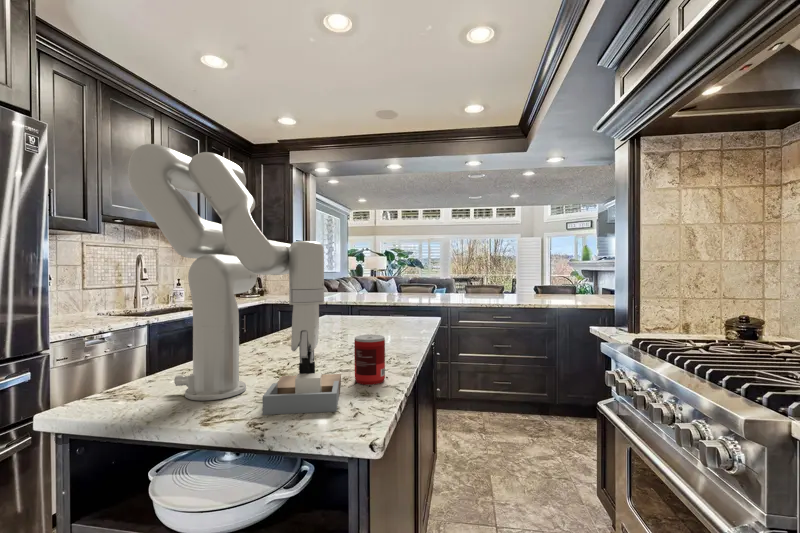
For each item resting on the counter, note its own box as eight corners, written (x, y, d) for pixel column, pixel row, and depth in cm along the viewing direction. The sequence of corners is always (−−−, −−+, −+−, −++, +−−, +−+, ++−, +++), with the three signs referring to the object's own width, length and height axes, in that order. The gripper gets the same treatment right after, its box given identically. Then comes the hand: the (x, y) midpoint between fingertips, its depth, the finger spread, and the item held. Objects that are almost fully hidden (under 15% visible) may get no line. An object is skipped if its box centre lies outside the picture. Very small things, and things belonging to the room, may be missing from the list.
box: (262, 414, 74) (262, 396, 74) (272, 399, 83) (272, 383, 83) (336, 411, 76) (336, 393, 76) (338, 397, 84) (338, 380, 85)
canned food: (379, 375, 103) (378, 333, 103) (389, 383, 95) (389, 338, 95) (351, 378, 100) (350, 335, 100) (359, 386, 92) (359, 340, 92)
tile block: (298, 397, 83) (295, 403, 79) (298, 373, 83) (295, 378, 79) (321, 396, 83) (320, 402, 79) (321, 373, 84) (320, 377, 80)
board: (272, 399, 83) (272, 388, 83) (281, 386, 93) (281, 376, 93) (338, 397, 84) (338, 385, 85) (340, 384, 94) (340, 373, 94)
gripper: (294, 295, 93) (295, 373, 92) (283, 299, 78) (283, 391, 77) (326, 295, 93) (327, 371, 93) (321, 299, 79) (321, 390, 78)
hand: (307, 380), depth 85 cm, fingers closed
